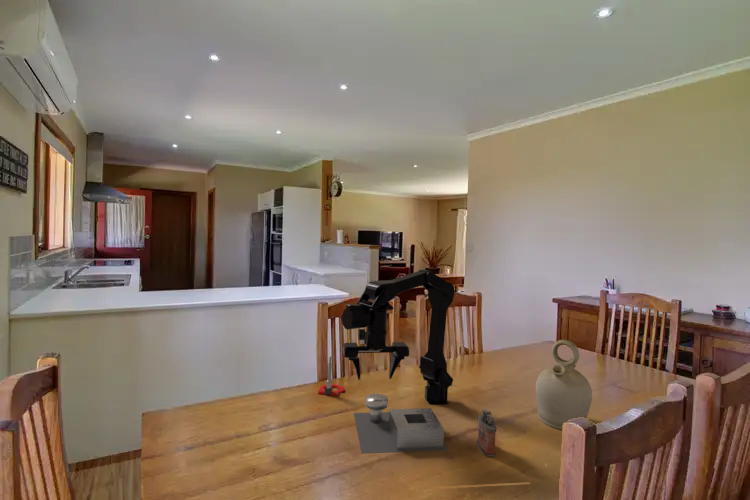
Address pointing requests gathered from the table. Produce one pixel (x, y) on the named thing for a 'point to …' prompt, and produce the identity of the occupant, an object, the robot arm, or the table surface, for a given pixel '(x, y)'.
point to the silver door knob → (376, 406)
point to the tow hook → (328, 388)
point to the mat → (379, 435)
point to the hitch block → (415, 429)
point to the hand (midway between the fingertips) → (374, 378)
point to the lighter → (486, 433)
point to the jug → (562, 390)
